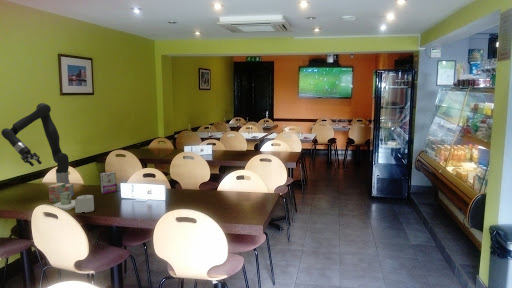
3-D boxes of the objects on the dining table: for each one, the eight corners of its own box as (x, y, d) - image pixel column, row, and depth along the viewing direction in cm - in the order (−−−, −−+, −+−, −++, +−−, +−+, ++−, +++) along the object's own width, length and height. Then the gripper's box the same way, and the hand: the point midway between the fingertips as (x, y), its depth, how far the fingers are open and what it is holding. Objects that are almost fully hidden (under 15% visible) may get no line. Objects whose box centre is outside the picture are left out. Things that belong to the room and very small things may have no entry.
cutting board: (65, 201, 319) (65, 199, 319) (84, 202, 316) (84, 200, 316) (47, 209, 299) (47, 206, 299) (67, 210, 296) (67, 207, 296)
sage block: (65, 202, 310) (64, 192, 309) (71, 202, 309) (70, 192, 308) (60, 204, 305) (60, 193, 304) (67, 204, 304) (66, 194, 303)
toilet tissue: (96, 208, 300) (95, 194, 298) (90, 213, 288) (89, 199, 287) (81, 208, 299) (80, 195, 298) (74, 213, 287) (73, 199, 286)
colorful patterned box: (67, 195, 340) (66, 180, 338) (74, 195, 338) (73, 180, 337) (49, 202, 319) (48, 186, 317) (56, 202, 318) (55, 186, 316)
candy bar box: (114, 190, 353) (113, 171, 351) (116, 191, 349) (115, 172, 347) (101, 192, 346) (99, 173, 344) (103, 193, 342) (102, 174, 340)
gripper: (18, 147, 310) (33, 162, 309) (31, 144, 324) (46, 159, 323) (12, 154, 311) (27, 169, 311) (26, 151, 325) (40, 166, 325)
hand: (37, 164), depth 317 cm, fingers open, 8 cm apart
